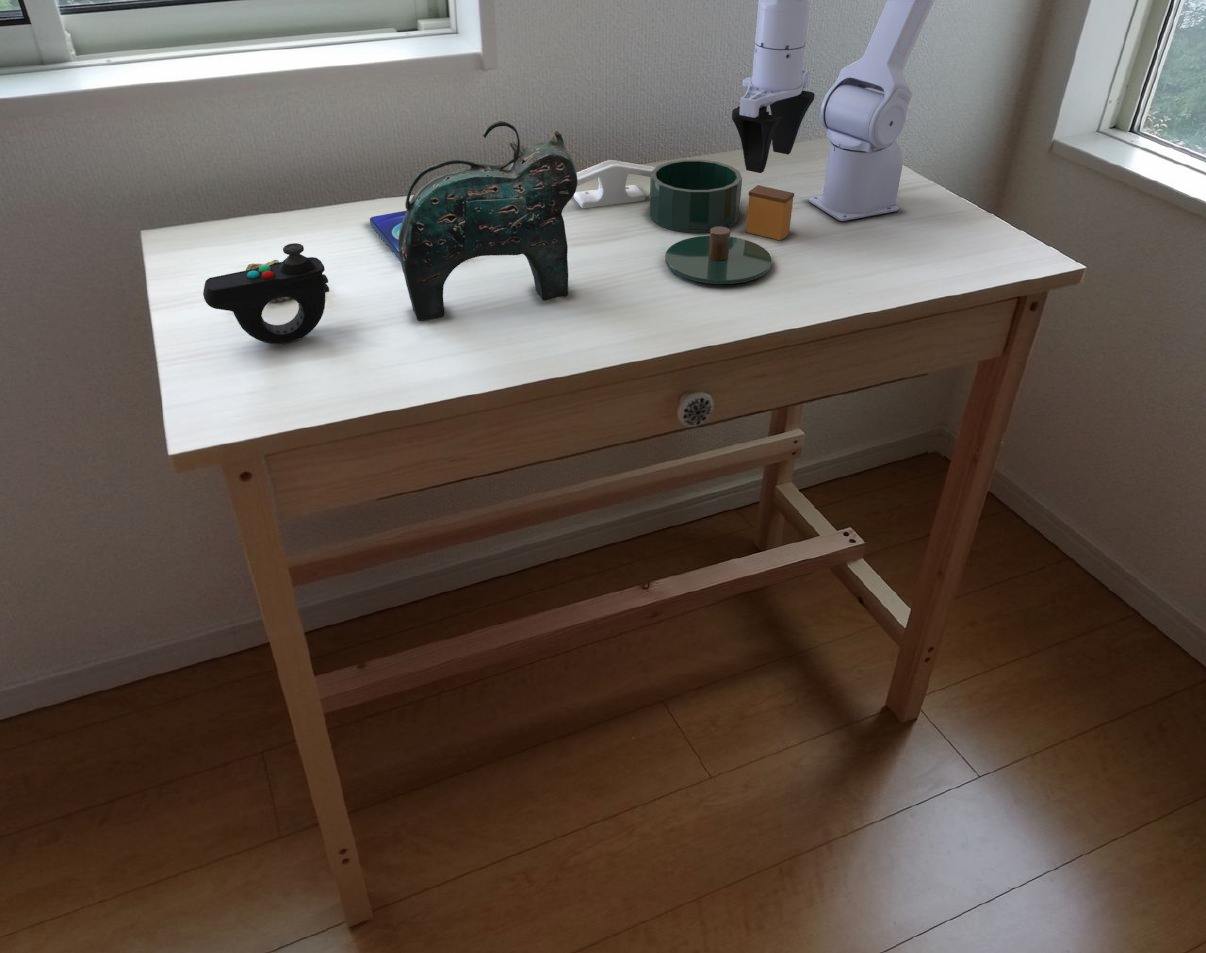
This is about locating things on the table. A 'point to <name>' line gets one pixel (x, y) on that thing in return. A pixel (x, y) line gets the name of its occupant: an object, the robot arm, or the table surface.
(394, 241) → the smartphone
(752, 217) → the brown block
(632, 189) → the mooring cleat
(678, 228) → the pot
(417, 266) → the ceramic cat
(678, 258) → the lid
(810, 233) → the table surface
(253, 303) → the controller
